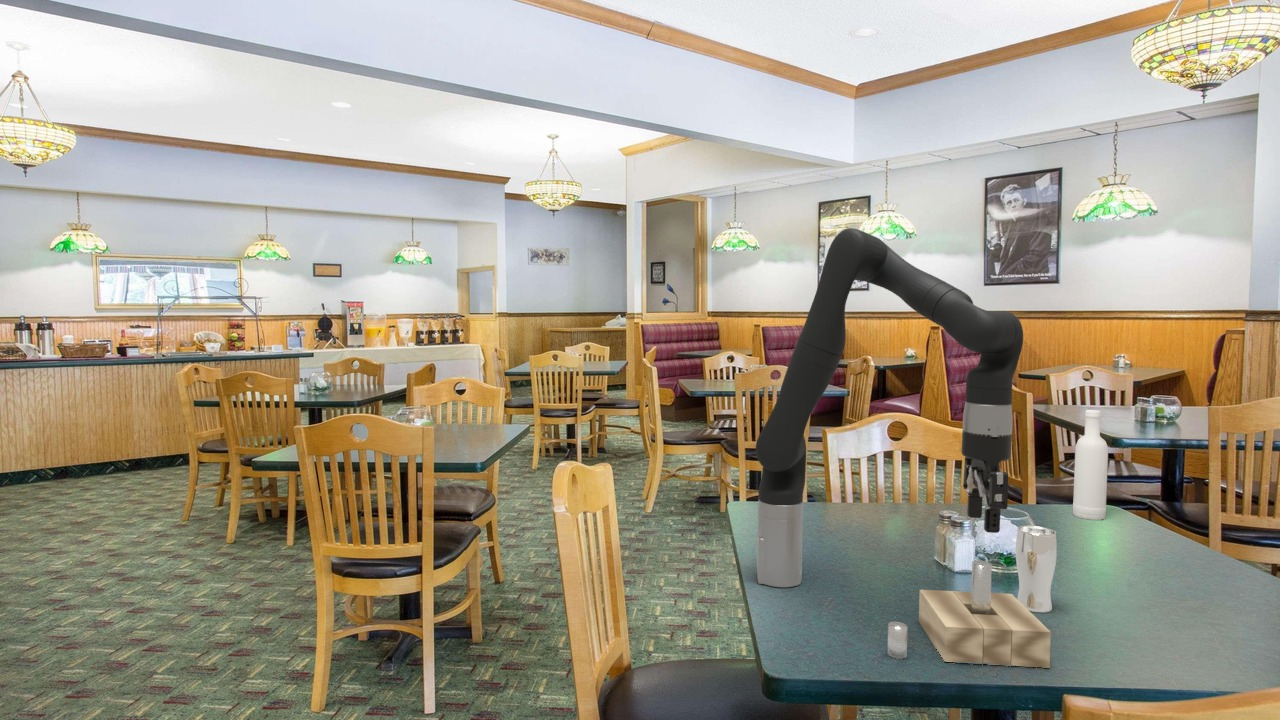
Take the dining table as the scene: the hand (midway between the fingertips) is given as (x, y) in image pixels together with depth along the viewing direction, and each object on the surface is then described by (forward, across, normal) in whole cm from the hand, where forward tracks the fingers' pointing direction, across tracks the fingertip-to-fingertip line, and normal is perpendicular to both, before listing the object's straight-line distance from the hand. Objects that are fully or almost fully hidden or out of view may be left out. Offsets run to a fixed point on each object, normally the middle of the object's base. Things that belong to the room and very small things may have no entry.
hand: (982, 524), depth 122 cm
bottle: (+20, -88, +58) cm, 107 cm away
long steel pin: (+21, 0, 0) cm, 21 cm away
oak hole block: (+21, 0, 0) cm, 21 cm away
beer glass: (+21, -18, +16) cm, 32 cm away
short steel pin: (+21, +6, -15) cm, 26 cm away
